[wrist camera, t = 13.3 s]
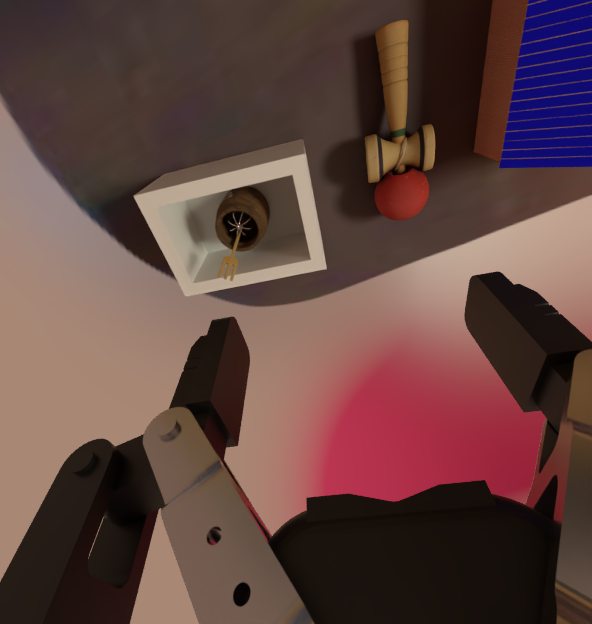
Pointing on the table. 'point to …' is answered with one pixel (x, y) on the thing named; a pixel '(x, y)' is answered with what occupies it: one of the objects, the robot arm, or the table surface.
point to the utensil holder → (241, 223)
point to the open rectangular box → (203, 208)
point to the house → (537, 85)
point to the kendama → (398, 135)
